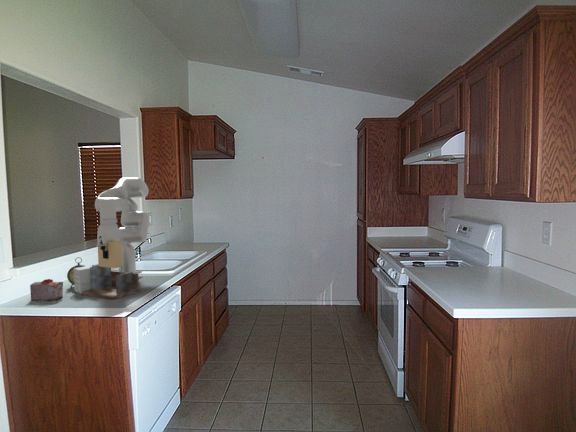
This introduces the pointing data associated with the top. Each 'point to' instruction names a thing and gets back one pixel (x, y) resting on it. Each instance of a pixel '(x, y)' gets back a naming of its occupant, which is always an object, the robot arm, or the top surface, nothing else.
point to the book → (111, 256)
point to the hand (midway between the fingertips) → (109, 257)
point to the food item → (46, 290)
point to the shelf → (111, 283)
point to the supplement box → (82, 279)
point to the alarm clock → (71, 273)
